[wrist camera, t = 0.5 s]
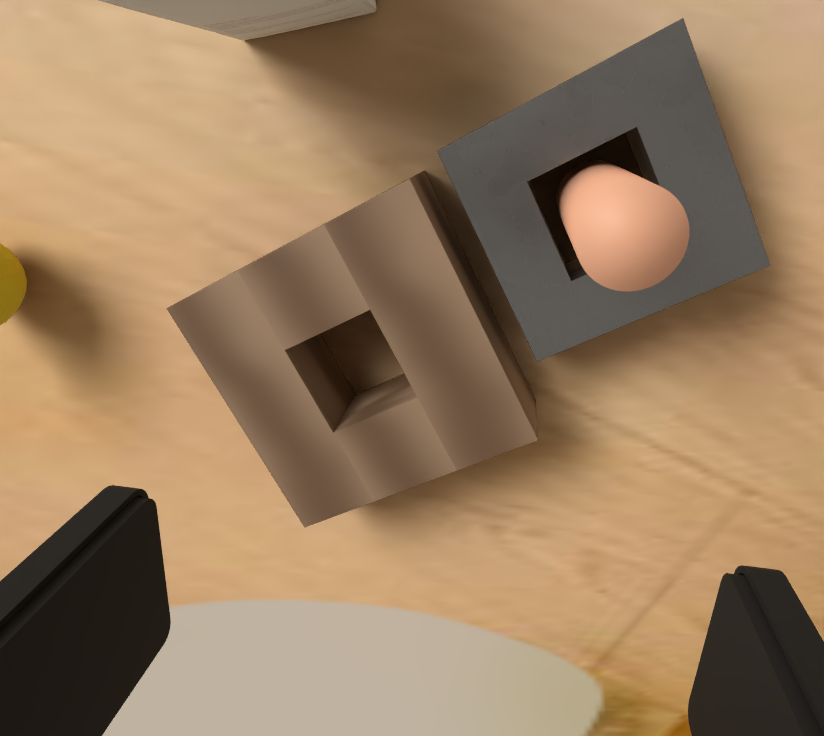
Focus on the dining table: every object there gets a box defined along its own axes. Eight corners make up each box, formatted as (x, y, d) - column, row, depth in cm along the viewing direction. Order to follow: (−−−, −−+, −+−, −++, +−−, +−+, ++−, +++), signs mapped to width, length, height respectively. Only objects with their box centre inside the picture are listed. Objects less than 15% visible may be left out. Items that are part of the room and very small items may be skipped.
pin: (614, 146, 31) (666, 161, 20) (641, 214, 32) (705, 263, 21) (544, 181, 32) (558, 212, 21) (572, 245, 33) (600, 308, 22)
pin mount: (662, 30, 29) (683, 18, 26) (741, 248, 32) (770, 265, 28) (446, 147, 33) (437, 150, 29) (535, 336, 35) (536, 361, 32)
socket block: (424, 170, 33) (409, 178, 28) (535, 399, 37) (538, 440, 32) (210, 284, 37) (166, 308, 33) (328, 481, 41) (304, 527, 36)
